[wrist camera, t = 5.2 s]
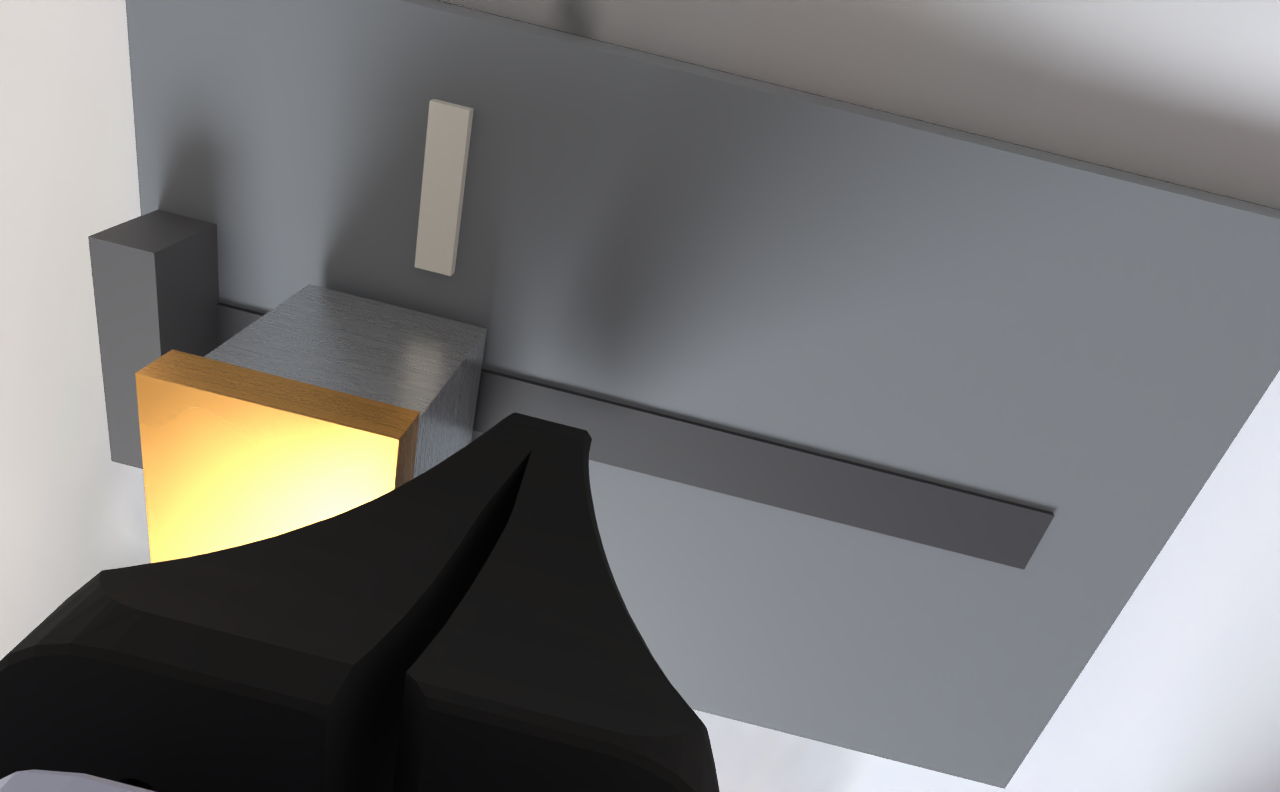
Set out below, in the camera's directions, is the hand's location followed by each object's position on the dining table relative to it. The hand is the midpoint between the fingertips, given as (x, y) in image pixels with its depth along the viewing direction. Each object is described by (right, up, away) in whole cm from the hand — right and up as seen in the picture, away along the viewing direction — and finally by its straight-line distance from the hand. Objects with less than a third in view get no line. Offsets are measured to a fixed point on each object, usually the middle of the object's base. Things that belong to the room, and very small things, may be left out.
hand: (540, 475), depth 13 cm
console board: (+2, +1, +3) cm, 3 cm away
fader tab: (-3, +1, +1) cm, 3 cm away
